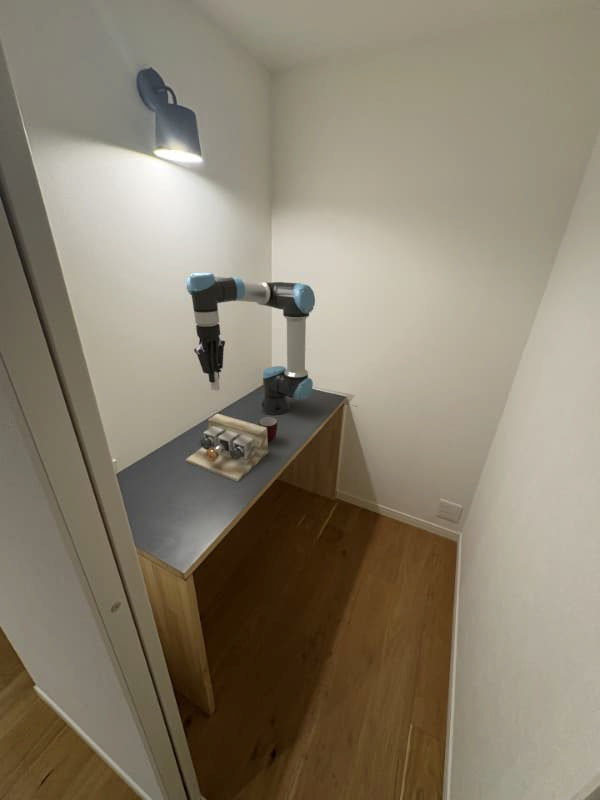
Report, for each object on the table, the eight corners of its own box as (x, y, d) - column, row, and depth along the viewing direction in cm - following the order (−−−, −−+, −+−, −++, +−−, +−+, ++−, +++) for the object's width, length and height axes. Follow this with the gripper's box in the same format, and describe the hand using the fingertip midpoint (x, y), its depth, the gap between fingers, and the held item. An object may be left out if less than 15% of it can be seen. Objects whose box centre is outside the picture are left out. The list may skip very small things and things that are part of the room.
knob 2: (243, 446, 130) (242, 437, 128) (252, 450, 128) (252, 440, 126) (230, 458, 123) (229, 447, 121) (240, 461, 121) (239, 451, 119)
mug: (267, 450, 135) (266, 430, 131) (252, 445, 139) (251, 425, 134) (281, 438, 143) (280, 419, 139) (266, 434, 147) (265, 415, 142)
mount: (220, 436, 144) (217, 413, 139) (268, 452, 134) (266, 427, 128) (186, 461, 127) (181, 436, 122) (237, 481, 117) (235, 454, 112)
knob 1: (215, 437, 136) (213, 428, 134) (223, 440, 134) (222, 431, 132) (201, 447, 129) (199, 438, 127) (210, 451, 127) (208, 441, 125)
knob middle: (221, 448, 129) (219, 438, 127) (230, 451, 127) (229, 441, 125) (206, 459, 122) (205, 449, 120) (216, 463, 120) (214, 452, 118)
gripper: (212, 319, 110) (219, 381, 120) (184, 326, 99) (194, 394, 110) (229, 321, 107) (235, 385, 117) (202, 329, 96) (211, 398, 106)
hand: (215, 389), depth 113 cm, fingers closed
